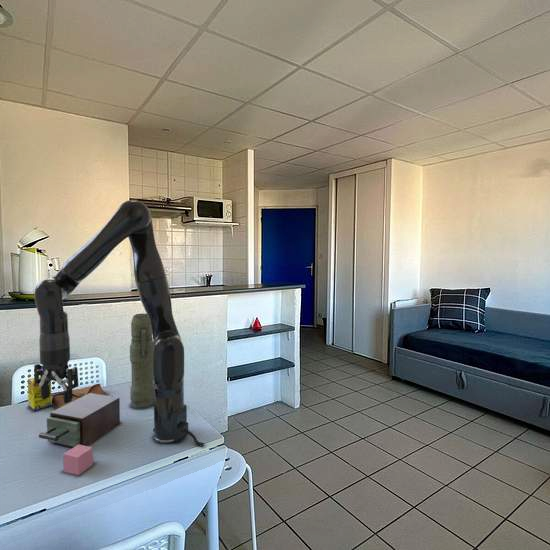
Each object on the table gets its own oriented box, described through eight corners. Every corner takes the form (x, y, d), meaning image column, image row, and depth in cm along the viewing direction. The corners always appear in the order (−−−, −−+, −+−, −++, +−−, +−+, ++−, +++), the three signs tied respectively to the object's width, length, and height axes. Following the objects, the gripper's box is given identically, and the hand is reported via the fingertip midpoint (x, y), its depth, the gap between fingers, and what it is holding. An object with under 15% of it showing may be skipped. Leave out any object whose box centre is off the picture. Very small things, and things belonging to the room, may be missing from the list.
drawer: (62, 456, 99) (61, 432, 99) (32, 449, 102) (31, 425, 102) (112, 424, 118) (112, 403, 117) (85, 419, 121) (84, 398, 120)
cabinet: (83, 447, 105) (82, 418, 105) (51, 440, 109) (49, 412, 108) (120, 423, 120) (119, 397, 120) (90, 417, 124) (89, 392, 123)
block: (93, 464, 97) (92, 447, 97) (78, 475, 93) (77, 457, 92) (78, 461, 99) (78, 444, 98) (63, 471, 94) (63, 454, 94)
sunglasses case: (58, 410, 128) (55, 392, 130) (53, 414, 133) (50, 396, 134) (108, 395, 141) (105, 379, 143) (103, 399, 146) (99, 384, 148)
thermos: (150, 395, 143) (149, 311, 140) (159, 406, 133) (158, 316, 131) (127, 400, 138) (125, 313, 135) (134, 412, 128) (133, 318, 126)
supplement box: (34, 411, 128) (33, 382, 127) (28, 407, 132) (27, 378, 131) (52, 406, 133) (51, 378, 132) (46, 401, 136) (45, 374, 135)
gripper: (24, 347, 101) (26, 402, 102) (62, 352, 97) (64, 409, 98) (47, 340, 108) (49, 392, 109) (84, 345, 104) (86, 398, 105)
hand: (56, 400), depth 103 cm, fingers open, 8 cm apart
